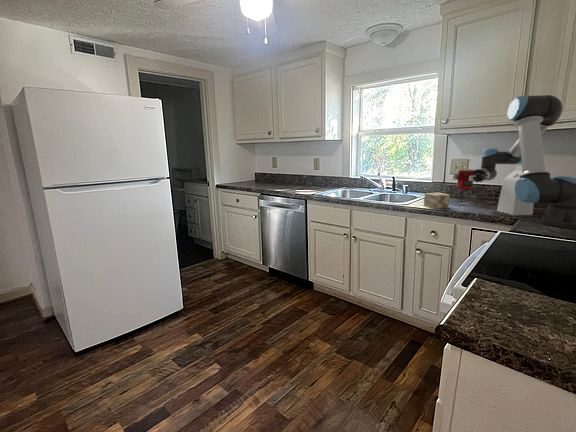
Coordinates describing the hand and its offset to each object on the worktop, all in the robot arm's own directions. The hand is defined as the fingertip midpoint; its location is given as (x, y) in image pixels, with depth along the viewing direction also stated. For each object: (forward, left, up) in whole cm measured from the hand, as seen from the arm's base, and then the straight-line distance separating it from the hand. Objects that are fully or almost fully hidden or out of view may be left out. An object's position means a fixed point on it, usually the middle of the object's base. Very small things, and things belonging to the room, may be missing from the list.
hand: (461, 177), depth 175 cm
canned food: (-5, -1, -7) cm, 8 cm away
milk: (-29, +13, -20) cm, 37 cm away
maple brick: (-2, -18, -20) cm, 27 cm away
